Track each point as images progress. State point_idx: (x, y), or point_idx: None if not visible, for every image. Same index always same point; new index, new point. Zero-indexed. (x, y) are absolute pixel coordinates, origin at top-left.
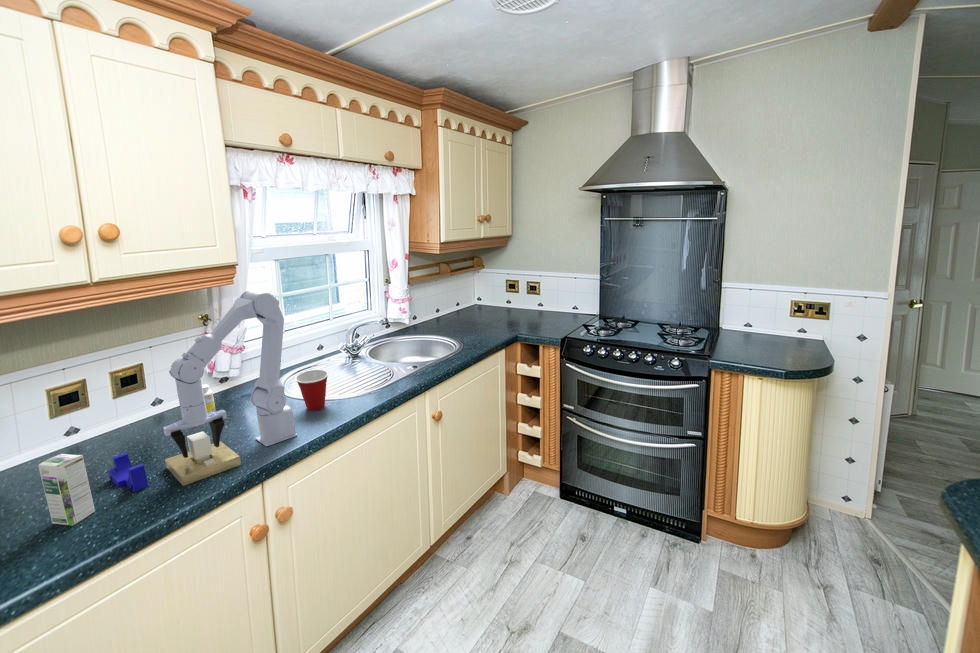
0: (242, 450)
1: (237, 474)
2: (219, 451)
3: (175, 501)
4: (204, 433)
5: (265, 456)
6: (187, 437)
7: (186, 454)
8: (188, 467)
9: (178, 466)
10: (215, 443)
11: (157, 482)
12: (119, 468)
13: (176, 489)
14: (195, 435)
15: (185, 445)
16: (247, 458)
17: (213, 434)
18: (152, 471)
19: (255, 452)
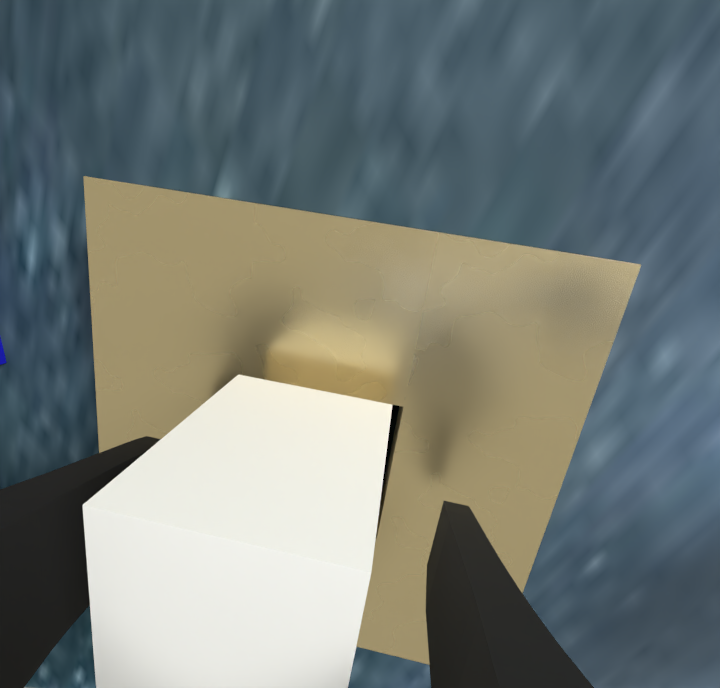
0: (653, 444)
1: (393, 673)
2: (463, 483)
3: (85, 622)
4: (334, 674)
5: (643, 656)
6: (93, 533)
7: None
8: None
9: (132, 433)
10: (431, 589)
11: (54, 361)
12: None
13: None
14: (201, 608)
15: (39, 663)
16: (565, 580)
17: (462, 657)
18: (55, 146)
19: (666, 558)
